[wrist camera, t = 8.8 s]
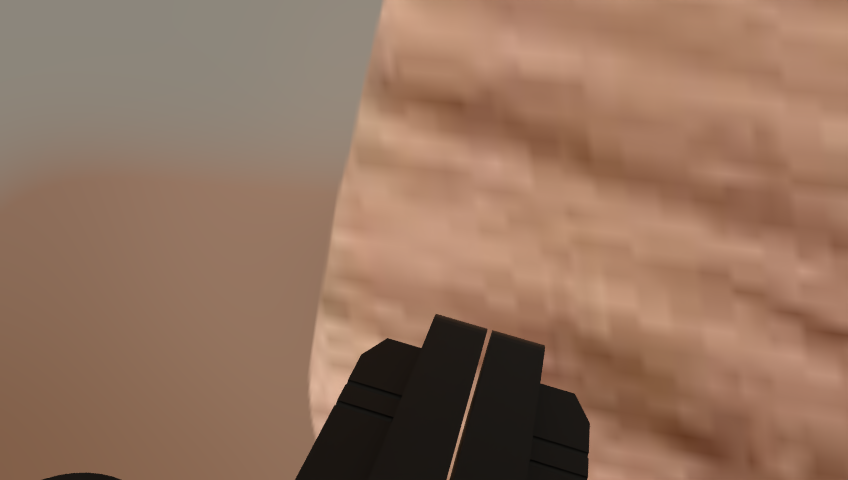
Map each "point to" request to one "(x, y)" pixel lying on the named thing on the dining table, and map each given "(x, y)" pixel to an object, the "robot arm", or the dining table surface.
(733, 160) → the dining table surface
